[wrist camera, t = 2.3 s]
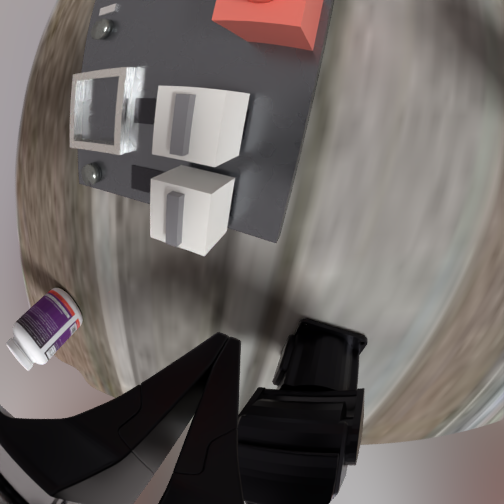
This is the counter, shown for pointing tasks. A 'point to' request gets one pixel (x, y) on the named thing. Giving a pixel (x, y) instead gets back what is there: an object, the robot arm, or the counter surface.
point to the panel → (191, 75)
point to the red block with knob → (271, 20)
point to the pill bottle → (44, 328)
